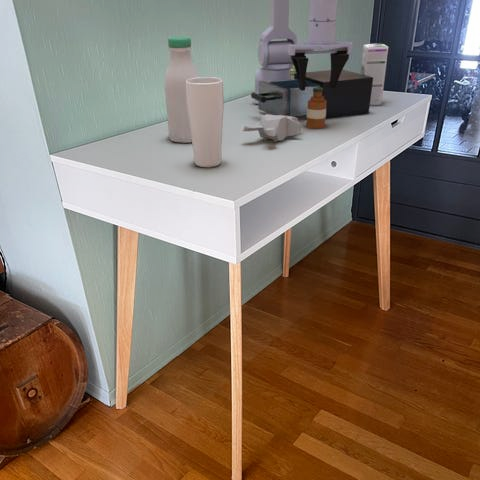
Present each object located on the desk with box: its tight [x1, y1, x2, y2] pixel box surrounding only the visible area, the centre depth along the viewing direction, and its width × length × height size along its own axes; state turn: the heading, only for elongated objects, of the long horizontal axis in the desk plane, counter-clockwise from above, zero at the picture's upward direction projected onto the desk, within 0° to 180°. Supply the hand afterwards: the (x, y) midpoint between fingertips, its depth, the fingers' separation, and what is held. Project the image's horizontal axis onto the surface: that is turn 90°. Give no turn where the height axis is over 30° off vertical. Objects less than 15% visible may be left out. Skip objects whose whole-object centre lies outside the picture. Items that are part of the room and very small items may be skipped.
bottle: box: [305, 87, 327, 130], centre depth 118 cm, size 4×4×8 cm
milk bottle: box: [164, 36, 200, 144], centre depth 107 cm, size 8×8×20 cm
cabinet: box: [294, 69, 373, 120], centre depth 131 cm, size 15×15×9 cm
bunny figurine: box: [242, 113, 303, 143], centre depth 111 cm, size 10×5×15 cm
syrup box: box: [360, 43, 389, 106], centre depth 136 cm, size 6×6×14 cm
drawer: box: [250, 79, 322, 117], centre depth 127 cm, size 17×13×7 cm
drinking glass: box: [186, 76, 225, 168], centre depth 94 cm, size 7×7×15 cm
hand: (317, 88), depth 116 cm, fingers open, 7 cm apart
